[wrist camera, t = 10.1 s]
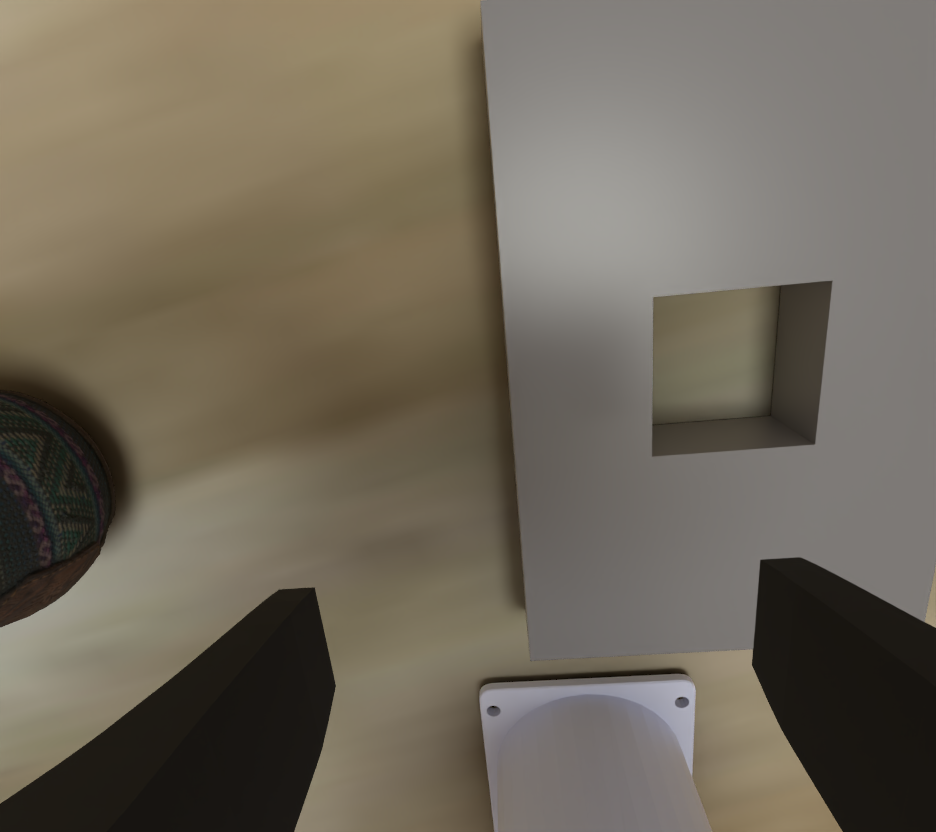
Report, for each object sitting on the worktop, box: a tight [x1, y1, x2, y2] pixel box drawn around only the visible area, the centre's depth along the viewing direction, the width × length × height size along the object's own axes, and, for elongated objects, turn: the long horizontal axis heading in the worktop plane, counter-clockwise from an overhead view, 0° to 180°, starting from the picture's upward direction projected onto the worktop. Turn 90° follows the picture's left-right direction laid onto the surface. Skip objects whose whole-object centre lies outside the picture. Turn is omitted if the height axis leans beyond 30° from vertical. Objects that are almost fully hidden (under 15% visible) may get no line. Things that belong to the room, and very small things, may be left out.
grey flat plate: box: [481, 0, 936, 661], centre depth 16 cm, size 18×12×2 cm, turn 6°
